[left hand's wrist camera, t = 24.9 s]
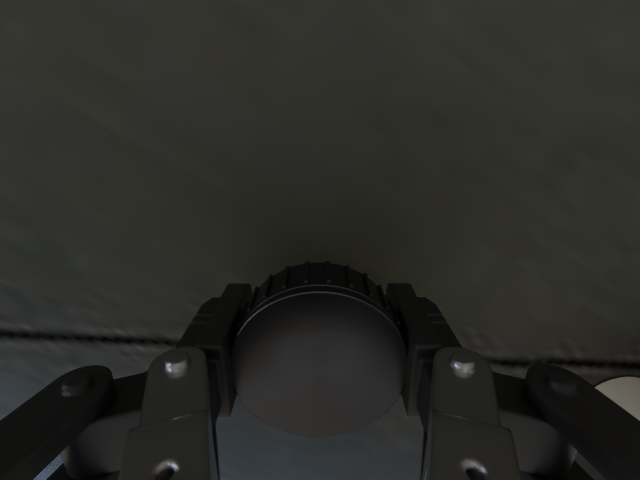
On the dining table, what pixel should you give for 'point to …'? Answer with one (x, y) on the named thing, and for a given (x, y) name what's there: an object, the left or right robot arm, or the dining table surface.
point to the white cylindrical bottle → (623, 393)
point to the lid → (319, 351)
